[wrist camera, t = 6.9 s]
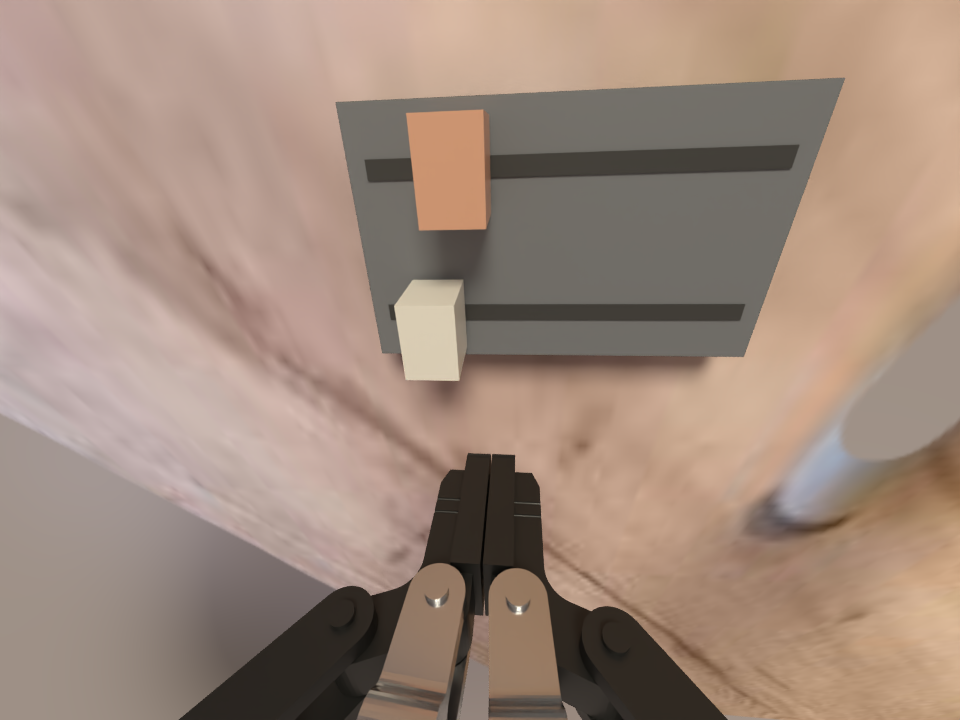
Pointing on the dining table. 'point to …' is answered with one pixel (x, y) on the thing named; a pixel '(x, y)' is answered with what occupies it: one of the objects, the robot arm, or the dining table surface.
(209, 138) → the dining table surface
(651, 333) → the fader console
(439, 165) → the terracotta fader
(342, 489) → the dining table surface
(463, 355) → the cream fader
